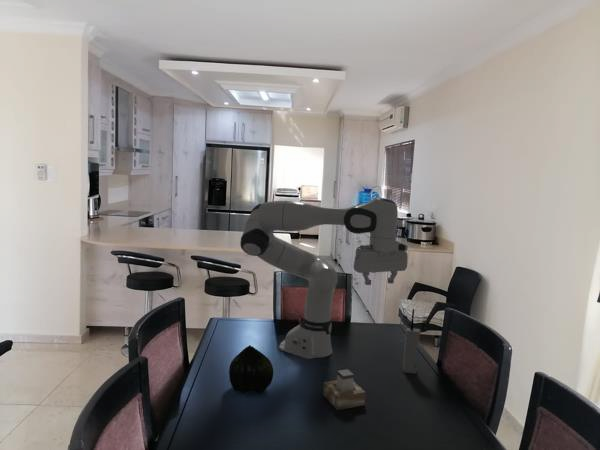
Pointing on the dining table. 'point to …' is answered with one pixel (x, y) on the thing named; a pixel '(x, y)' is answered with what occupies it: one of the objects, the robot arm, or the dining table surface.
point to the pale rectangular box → (345, 380)
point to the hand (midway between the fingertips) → (379, 283)
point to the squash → (250, 371)
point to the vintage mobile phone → (410, 348)
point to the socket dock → (344, 396)
